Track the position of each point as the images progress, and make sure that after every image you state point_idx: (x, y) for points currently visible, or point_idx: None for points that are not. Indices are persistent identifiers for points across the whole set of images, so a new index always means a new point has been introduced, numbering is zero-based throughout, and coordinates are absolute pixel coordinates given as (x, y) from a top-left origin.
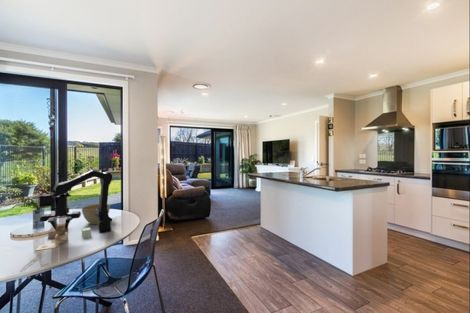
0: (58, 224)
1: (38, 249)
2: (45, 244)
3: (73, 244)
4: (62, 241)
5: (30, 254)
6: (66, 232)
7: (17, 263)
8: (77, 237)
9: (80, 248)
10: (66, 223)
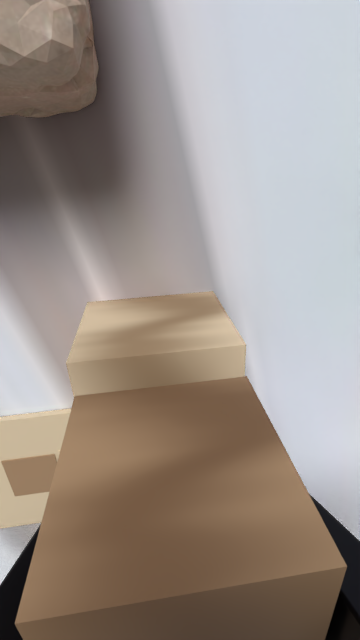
0: (39, 618)
1: (13, 520)
2: (3, 422)
3: (301, 457)
4: None
5: (4, 571)
6: (227, 352)
7: None
8: (329, 256)
9: (356, 531)
10: None
